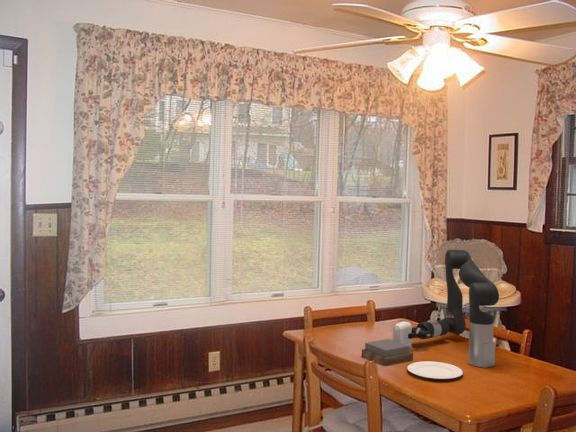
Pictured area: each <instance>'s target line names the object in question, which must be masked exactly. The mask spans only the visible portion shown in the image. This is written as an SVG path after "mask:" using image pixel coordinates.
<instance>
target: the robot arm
mask: <svg viewBox="0 0 576 432" xmlns="http://www.w3.org/2000/svg"><path fill="white" fill-rule="evenodd" d="M444 267H445V280H446V290H447V291H446V292H447V298H446V299H447V300H446V301H447V302H446V309H447V310H446V311H447V312H448V313H450V314H452V317H443V318H442V319H440V320H439V319H438V320H430V321H423V322H419V323H418V324H417V325H416V326H412V333H409V334H408V338H409V339H411V340H412V339H419V340H427V339H428V340H429V339H433V338H437V337H440V336H441V337H442V336H446V335H447V334H448V333H451V334H456V335H461V334H463V333H464V332H465V330H466V320H465V314H464V311H463V304H464V303H463V301H464V300H463V299H464V298H463V292H462V290H461V288H460V286H459V284H458V283H457V281H456V279H455V276H454V270H458V276H459V279H460V281H461V282H462V284H463V285H464V286H465V287H467V288H469V289H468V303H469V304H468V305H469V311H468V313H469V323H468V325H469V328H468V330H469V331H468V364H469V365H470V366H474V367H478V368H484V369H485V368H490V367H494V366H495V365H496V359H495V358H496V342H495V341H494V316H493V315H492V314H489V313H487V312H484V311H482V309H480V306H481V307H492V306H495V305H497V304H498V302H499V300H500V293H499V290H498V288H497V285H495V283H494V282H492V281H491V280H490V279H489V278H488V277H486V276H485V274H484V273H483V272H482V270H481V269H480V268H479V266H477V265H476V263H475V262H474V259H473V258H472V256H471V254H470V253H469V251H467V250H465V249H447V250H446V252H445V256H444Z"/></svg>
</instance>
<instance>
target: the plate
mask: <svg viewBox="0 0 576 432" xmlns="http://www.w3.org/2000/svg"><path fill="white" fill-rule="evenodd" d="M406 369H407V371H408V372H409V373H410V374H412V375H414V376H417V377H419V378H422V379H427V380H430V381H431V380H432V381H448V380H452V379H457V378H460V377H461V376H463V374H464V371H463V369H461V368H460V367H458V366H455V365H453V364H451V363H447V362H442V361H441V362H439V361H430V360H429V361H417V362H413V363H412V362H411V363H410V364H409V365H407V367H406Z"/></svg>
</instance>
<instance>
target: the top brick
mask: <svg viewBox="0 0 576 432" xmlns="http://www.w3.org/2000/svg"><path fill="white" fill-rule="evenodd" d="M364 349H365V350H367V351H369V352H372V353H375V354H377V355H380V356H383V357H385V358H387V357H392V356H397V355H402V354H407V353H410V350H411V348H410V346H408V345H405V344H402V343H399V342H396V341H393V339H390V338H385V339H380V340H375V341H368V342H365V343H364Z"/></svg>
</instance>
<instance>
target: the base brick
mask: <svg viewBox="0 0 576 432" xmlns="http://www.w3.org/2000/svg"><path fill="white" fill-rule="evenodd" d="M361 357H362V358H364V359H367V360H369V361H371V360H374V361H375V362H374V361H373V362H374V363H377V364H378V365H379V364H380V365H381V366H384V367H388V366H392V365H398V364H402V363H408V362H411V361H414V353H413V352H410V353H407V354H402V355H397V356H392V357H387V358H385V357H383V356H380V355H377V354H375V353H372V352H369V351H367V350H365V348H363V349H361Z"/></svg>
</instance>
